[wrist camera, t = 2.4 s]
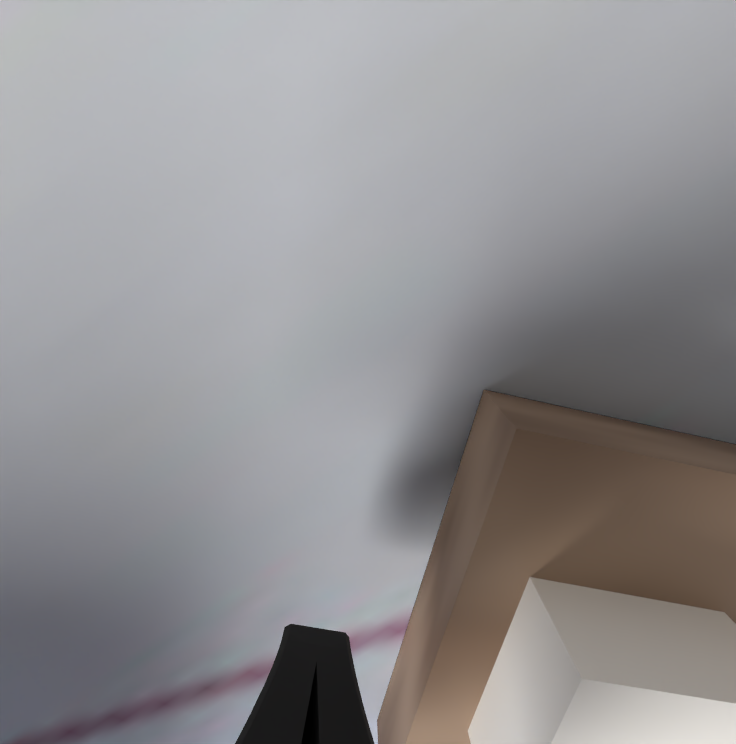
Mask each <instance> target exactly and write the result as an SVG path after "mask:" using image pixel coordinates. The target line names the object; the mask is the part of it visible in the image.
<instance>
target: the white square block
mask: <svg viewBox="0 0 736 744" xmlns="http://www.w3.org/2000/svg"><path fill="white" fill-rule="evenodd" d="M468 734H469V738H470V743H471V744H736V624H735V623H734V622H733V621H732V620H731V619H730V618H729V616H728V615H727V614H726V613H725V612H721V611H715V610H710V609H704V608H699V607H693V606H687V605H682V604H676V603H671V602H665V601H660V600H654V599H649V598H643V597H638V596H632V595H627V594H621V593H616V592H610V591H605V590H599V589H594V588H588V587H583V586H577V585H572V584H566V583H561V582H555V581H550V580H544V579H539V578H533V577H530V578H529V580H528V582H527V585H526V587H525V590H524V592H523V595H522V597H521V600H520V602H519V605H518V607H517V610H516V612H515V615H514V617H513V620H512V622H511V625H510V627H509V630H508V632H507V635H506V637H505V640H504V642H503V645H502V647H501V649H500V652H499V654H498V657H497V659H496V662H495V664H494V667H493V669H492V672H491V674H490V677H489V679H488V682H487V684H486V687H485V689H484V692H483V694H482V697H481V699H480V702H479V704H478V707H477V709H476V712H475V714H474V717H473V719H472V721H471V724H470V726H469V729H468Z"/></svg>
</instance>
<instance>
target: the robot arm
mask: <svg viewBox="0 0 736 744" xmlns="http://www.w3.org/2000/svg"><path fill="white" fill-rule="evenodd" d="M235 744H374V741H373V738H372V734H371V731H370V728H369V724H368V721H367V717H366V714H365V710H364V706H363V703H362V699H361V695H360V691H359V687H358V682H357V678H356V674H355V669H354V664H353V659H352V654H351V648H350V641H349V637H348V636H347V634H346V633H344V632H338V631H332V630H325V629H319V628H313V627H307V626H301V625H295V624H290V625H288V626H286V627H285V628H284V633H283V637H282V641H281V644H280V647H279V650H278V653H277V656H276V659H275V661H274V664H273V666H272V669H271V671H270V673H269V676H268V678H267V680H266V683H265V685H264V687H263V689H262V691H261V693H260V695H259V697H258V700H257V702H256V704H255V706H254V708H253V710H252V712H251V714H250V716H249V718H248V720H247V722H246V724H245V726H244V728H243V730H242V732H241V734H240V735H239V737H238V739H237V741H236V743H235Z"/></svg>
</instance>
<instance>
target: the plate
mask: <svg viewBox="0 0 736 744" xmlns="http://www.w3.org/2000/svg"><path fill="white" fill-rule="evenodd" d="M530 577H533V578H539V579H544V580H550V581H555V582H561V583H566V584H572V585H577V586H583V587H588V588H594V589H599V590H605V591H610V592H616V593H621V594H627V595H632V596H638V597H643V598H649V599H654V600H660V601H665V602H671V603H676V604H682V605H687V606H693V607H699V608H704V609H710V610H715V611H721V612H725V613H726V614H727V615H728V616H729V618H730V619H731V620H732V621H733V622H734V623H735V624H736V444H731V443H726V442H722V441H717V440H713V439H708V438H704V437H699V436H694V435H690V434H685V433H681V432H676V431H671V430H667V429H662V428H658V427H653V426H649V425H644V424H639V423H635V422H630V421H626V420H621V419H616V418H612V417H607V416H603V415H598V414H594V413H589V412H584V411H580V410H575V409H571V408H566V407H561V406H557V405H552V404H548V403H543V402H539V401H534V400H529V399H525V398H520V397H516V396H511V395H506V394H502V393H497V392H493V391H488V390H484V391H483V394H482V397H481V400H480V403H479V406H478V409H477V412H476V415H475V418H474V422H473V425H472V428H471V431H470V434H469V437H468V440H467V443H466V446H465V449H464V453H463V456H462V459H461V462H460V465H459V468H458V471H457V474H456V477H455V480H454V484H453V487H452V490H451V493H450V496H449V499H448V502H447V505H446V508H445V512H444V515H443V518H442V521H441V524H440V527H439V530H438V533H437V536H436V539H435V543H434V546H433V549H432V552H431V555H430V558H429V561H428V564H427V567H426V570H425V574H424V577H423V580H422V583H421V586H420V589H419V592H418V595H417V598H416V601H415V605H414V608H413V611H412V614H411V617H410V620H409V623H408V626H407V629H406V633H405V636H404V639H403V642H402V645H401V648H400V651H399V654H398V657H397V660H396V664H395V667H394V670H393V673H392V676H391V679H390V682H389V685H388V688H387V691H386V695H385V698H384V701H383V704H382V707H381V710H380V713H379V716H378V719H377V726H378V744H471V743H470V738H469V734H468V729H469V726H470V724H471V721H472V719H473V717H474V714H475V712H476V709H477V707H478V704H479V702H480V699H481V697H482V694H483V692H484V689H485V687H486V684H487V682H488V679H489V677H490V674H491V672H492V669H493V667H494V664H495V662H496V659H497V657H498V654H499V652H500V649H501V647H502V645H503V642H504V640H505V637H506V635H507V632H508V630H509V627H510V625H511V622H512V620H513V617H514V615H515V612H516V610H517V607H518V605H519V602H520V600H521V597H522V595H523V592H524V590H525V587H526V585H527V582H528V580H529V578H530Z"/></svg>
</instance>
